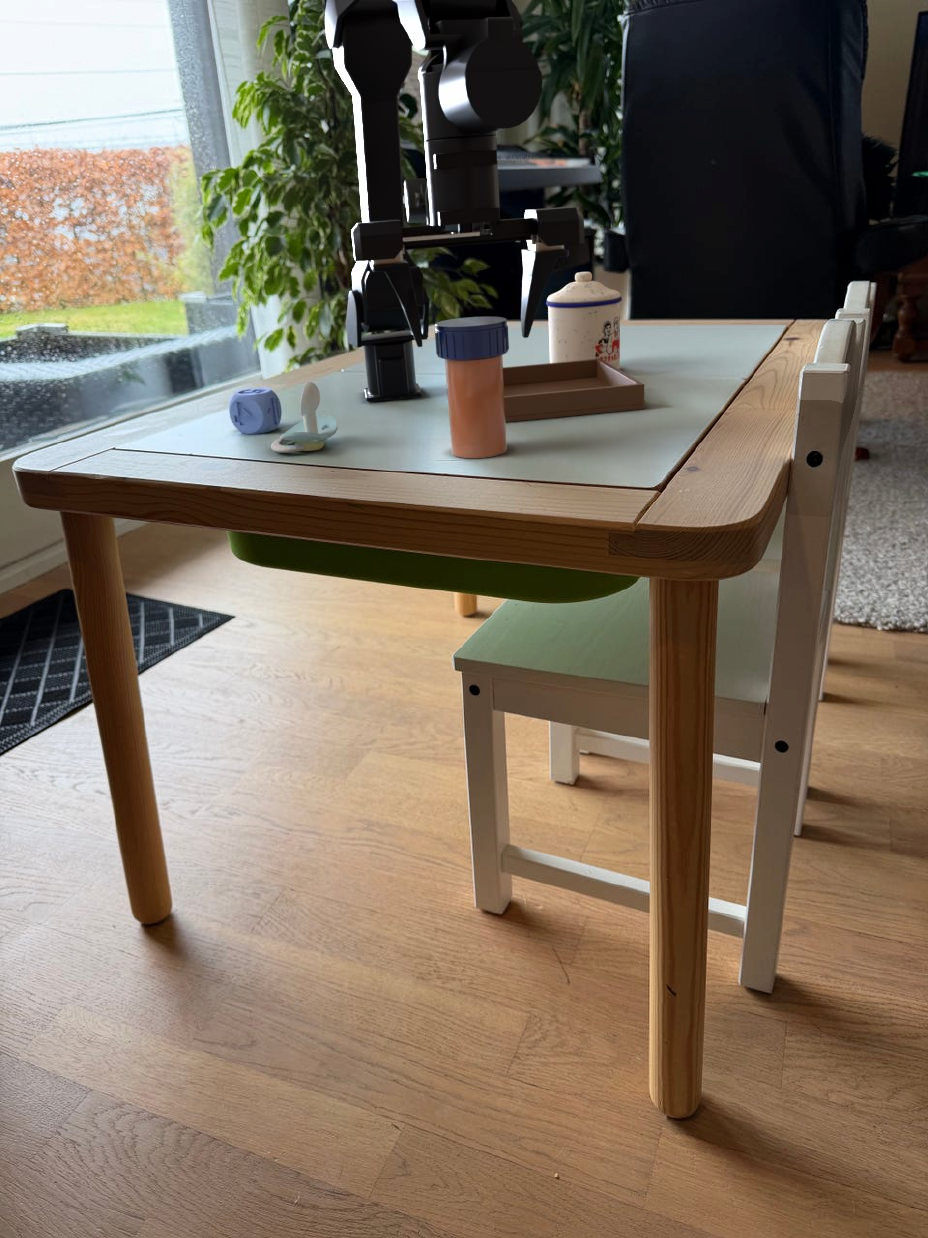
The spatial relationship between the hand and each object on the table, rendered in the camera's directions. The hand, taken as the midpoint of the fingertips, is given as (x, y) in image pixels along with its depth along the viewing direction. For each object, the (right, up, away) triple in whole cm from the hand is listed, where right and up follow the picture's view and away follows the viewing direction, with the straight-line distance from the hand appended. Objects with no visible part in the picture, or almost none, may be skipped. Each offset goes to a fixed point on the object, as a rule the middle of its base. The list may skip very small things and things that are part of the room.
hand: (472, 341), depth 82 cm
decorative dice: (-22, -4, +19) cm, 29 cm away
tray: (+9, 0, +22) cm, 24 cm away
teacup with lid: (+15, +7, +38) cm, 41 cm away
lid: (0, +1, 0) cm, 1 cm away
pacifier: (-16, -7, +10) cm, 20 cm away
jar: (+1, -9, +4) cm, 10 cm away
